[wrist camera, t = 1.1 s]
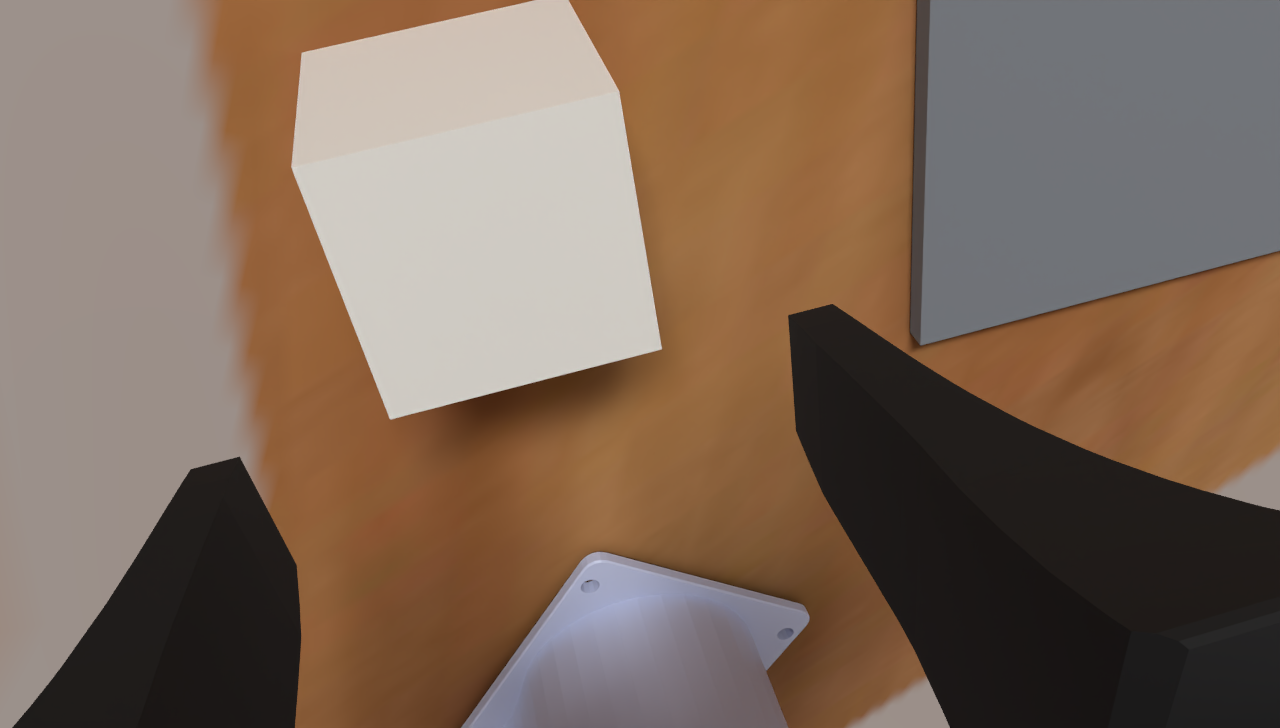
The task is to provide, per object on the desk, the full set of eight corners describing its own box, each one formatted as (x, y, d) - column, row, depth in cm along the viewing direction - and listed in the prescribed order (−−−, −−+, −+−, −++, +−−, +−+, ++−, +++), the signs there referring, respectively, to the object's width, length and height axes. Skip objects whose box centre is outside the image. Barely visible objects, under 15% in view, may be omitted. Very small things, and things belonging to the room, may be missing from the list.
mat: (1300, 229, 28) (1317, 240, 27) (909, 332, 27) (920, 345, 26) (1436, -241, 21) (1462, -238, 20) (919, -128, 20) (933, -121, 19)
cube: (607, 219, 23) (662, 349, 19) (381, 275, 22) (390, 419, 18) (564, -8, 20) (618, 91, 16) (301, 51, 19) (292, 167, 15)
